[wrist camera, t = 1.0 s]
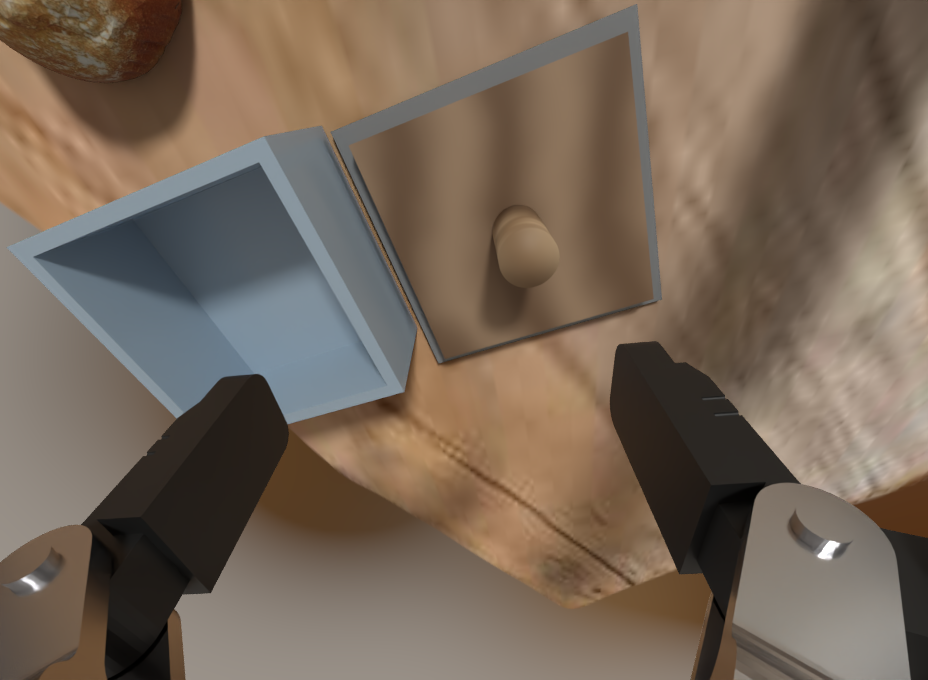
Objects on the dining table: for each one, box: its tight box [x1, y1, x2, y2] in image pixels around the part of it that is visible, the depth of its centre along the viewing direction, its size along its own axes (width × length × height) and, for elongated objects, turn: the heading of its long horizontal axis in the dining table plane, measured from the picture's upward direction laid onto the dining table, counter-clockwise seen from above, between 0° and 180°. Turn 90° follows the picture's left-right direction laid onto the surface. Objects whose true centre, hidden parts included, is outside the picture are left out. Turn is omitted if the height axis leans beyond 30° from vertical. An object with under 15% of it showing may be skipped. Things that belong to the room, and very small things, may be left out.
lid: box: [349, 32, 654, 359], centre depth 23 cm, size 16×16×7 cm
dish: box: [7, 126, 417, 424], centre depth 25 cm, size 15×15×8 cm
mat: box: [331, 4, 662, 363], centre depth 26 cm, size 18×18×1 cm
